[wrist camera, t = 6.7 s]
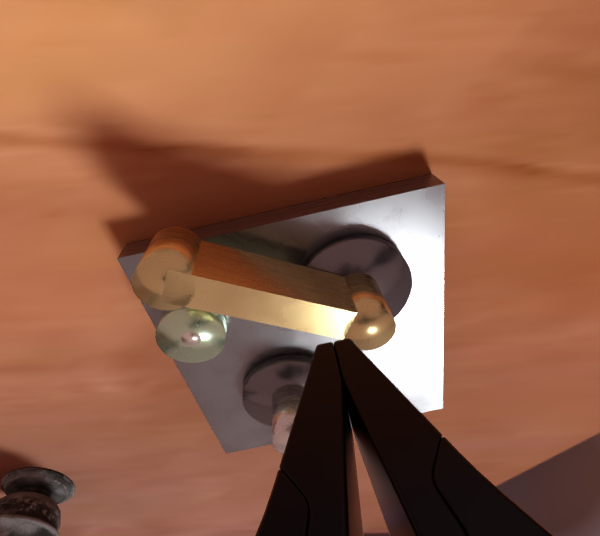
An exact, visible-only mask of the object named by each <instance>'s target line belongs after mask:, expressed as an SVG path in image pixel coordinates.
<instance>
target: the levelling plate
mask: <svg viewBox="0 0 600 536" xmlns="http://www.w3.org/2000/svg"><path fill="white" fill-rule="evenodd" d="M444 211H445V184H444V183H443V182H442V181H441V180H439V179H438V178H437V177H436V176H434V175H433V174H429V175H425V176H421V177H416V178H412V179H407V180H403V181H399V182H394V183H390V184H386V185H381V186H377V187H373V188H368V189H364V190H360V191H355V192H351V193H346V194H342V195H338V196H333V197H329V198H325V199H320V200H316V201H312V202H307V203H303V204H299V205H294V206H290V207H286V208H281V209H277V210H272V211H268V212H264V213H259V214H255V215H251V216H246V217H242V218H238V219H233V220H229V221H225V222H220V223H216V224H212V225H207V226H203V227H198V228H194V229H190V230H191V231H193V232H194V233H195V234H197V235H198V236H199V238H200V239H201V240H203V241H206V242H210V243H214V244H218V245H222V246H226V247H230V248H234V249H238V250H242V251H246V252H250V253H254V254H258V255H262V256H266V257H269V258H273V259H277V260H281V261H285V262H289V263H293V264H297V265H301V266H303V265H304V263H305V262H306V260H307V259H308V258H309V257H310V256H311V255H312V254H313V253H314V252H315V251H316V250H317V249H318V248H320V247H321V246H323V245H324V244H326V243H328V242H330V241H332V240H334V239H337V238H340V237H344V236H349V235H360V234H363V235H371V236H376V237H379V238H382V239H384V240H386V241H388V242H390V243H391V244H392V245H394V246H395V247H396V248H397V249H398V250H399V251H400V253H401V254H402V256H403V257H404V259H405V260H406V262H407V263H408V265H409V267H410V270H411V274H412V290H411V294H410V296H409V299H408V301H407V303H406V305H405V306H404V308H403V309H402V310H401V312H400V313H399V314H398V315H397V316H396V317H395V318H394V320H395V322H396V331H395V334H394V336H393V337H392V339H391V340H390V341H389V342H388V343H386V344H385V345H383V346H382V347H379V348H377V349H374V350H366V351H364V350H361V351H362V352H363V353H364V354H365V355H366V356H367V357H368V358H369V359H370V360H371V361H372V362H373V363H374V364H375V365H376V366H377V367H378V368H379V369H380V370H381V372H382V373H383V374H384V375H385V376H386V377H387V378H388V379H389V380H390V381H391V382H392V383H393V384H394V385H395V386H396V387H397V388H398V389H399V390H400V391H401V392H402V393H403V394H404V395H405V397H406V398H407V399H408V400H409V401H410V402H411V403H412V404H413V405H414V406H415V407H416V408H417V409H418V410H419V411H420V412H421V413H423V412H427V411H432V410H437V409H442V408H443V330H444ZM152 239H153V238H151V239H146V240H142V241H138V242H133V243H129V244H126V246H125V247H124V249H123V250H122V252H121V253H120V255H119V257H118V258H117V259H118V261H119V263H120V265H121V266H122V268H123V270H124V272H125V274H126V275H127V277H128V279H129V281H130V283H131V284H132V276H133V274H134V272H135V270H136V268H137V266H138V264H139V263H140V261H141V259H142V257H143V255H144V253H145V251H146V250H147V248H148V246H149V244H150V242H151V240H152ZM141 302H142V301H141ZM142 304H143V306H144V308H145V309H146V311H147V313H148V315H149V317H150V318H151V320H152V322H153V324H154V326H155V327H156V329H157V330H156V341H157V344H158V346H159V347H160V349H161V350H162V351H163V352H164V353H165V354H166V355H168V356H169V357H171V358H173V360H174V361H175V363H176V365H177V367H178V369H179V370H180V372H181V374H182V376H183V378H184V379H185V381H186V383H187V385H188V387H189V388H190V390H191V392H192V394H193V395H194V397H195V399H196V401H197V403H198V404H199V406H200V408H201V410H202V412H203V413H204V415H205V417H206V419H207V421H208V422H209V424H210V426H211V428H212V430H213V431H214V433H215V435H216V437H217V438H218V440H219V442H220V444H221V446H222V447H223V449H224V451H225V453H231V452H236V451H241V450H246V449H250V448H255V447H260V446H265V445H269V444H273V432H272V426H269V425H265V424H263V423H260V422H258V421H256V420H255V419H254V418H252V417H251V416H250V415H249V414H248V413H247V412H246V410H245V408H244V406H243V402H242V394H243V384H244V381H245V379H246V377H247V375H248V374H249V373H250V372H251V370H252V369H254V368H255V367H256V366H257V365H259V364H260V363H262V362H264V361H266V360H269V359H271V358H274V357H278V356H283V355H304V356H309V357H312V358H313V355H314V352H315V349H316V346H317V345H319V344H323V343H328V342H332V343H333V344H334V342H335V341H337V340H342V339H337V338H332V337H327V336H323V335H318V334H313V333H308V332H303V331H298V330H294V329H289V328H284V327H279V326H274V325H269V324H265V323H260V322H255V321H250V320H245V319H241V318H236V317H231V316H226V315H221V314H216V313H212V312H207V311H202V310H197V309H192V308H187V307H182V308H180V309H176V310H168V311H167V310H159V309H155V308H152V307H150V306H148V305H146V304H145V303H143V302H142ZM350 422H351V421H350ZM351 427H352V425H351Z"/></svg>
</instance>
